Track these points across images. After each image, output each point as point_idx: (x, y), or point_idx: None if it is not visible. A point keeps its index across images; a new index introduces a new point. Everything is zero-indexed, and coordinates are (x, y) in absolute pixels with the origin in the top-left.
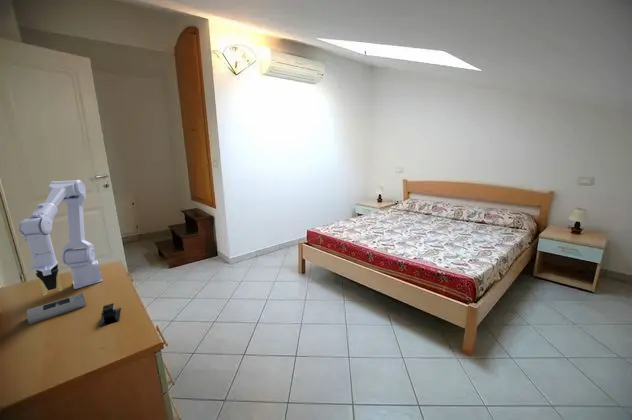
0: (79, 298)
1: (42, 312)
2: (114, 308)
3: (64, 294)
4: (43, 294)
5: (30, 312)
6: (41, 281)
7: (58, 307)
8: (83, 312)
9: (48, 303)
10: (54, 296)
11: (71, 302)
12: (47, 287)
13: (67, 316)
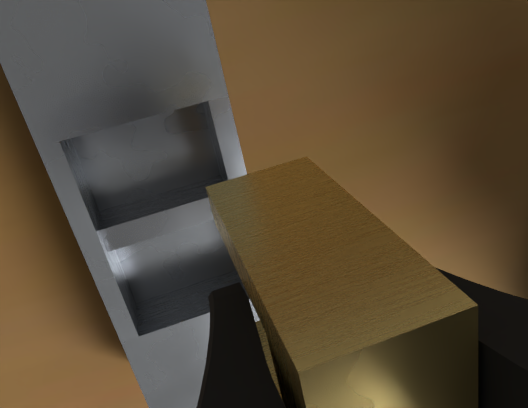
0: (178, 387)
1: (33, 134)
2: None
3: (502, 142)
4: (211, 196)
5: (79, 5)
6: (281, 360)
7: (88, 256)
8: (23, 386)
9: (236, 141)
10: (524, 68)
11: (124, 349)
12: (209, 331)
13: (5, 291)
